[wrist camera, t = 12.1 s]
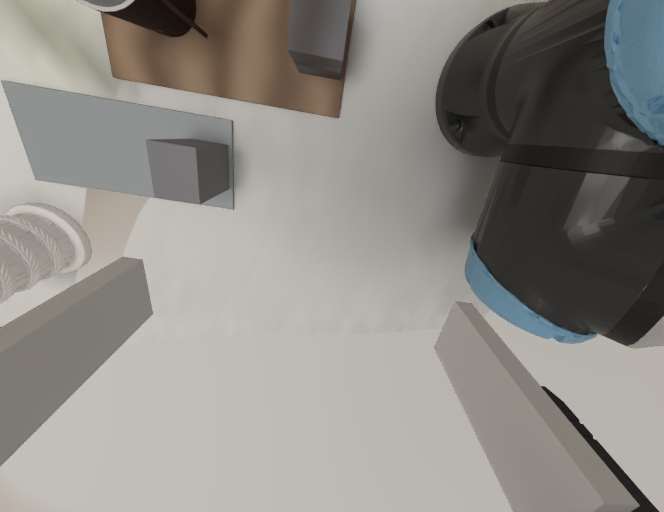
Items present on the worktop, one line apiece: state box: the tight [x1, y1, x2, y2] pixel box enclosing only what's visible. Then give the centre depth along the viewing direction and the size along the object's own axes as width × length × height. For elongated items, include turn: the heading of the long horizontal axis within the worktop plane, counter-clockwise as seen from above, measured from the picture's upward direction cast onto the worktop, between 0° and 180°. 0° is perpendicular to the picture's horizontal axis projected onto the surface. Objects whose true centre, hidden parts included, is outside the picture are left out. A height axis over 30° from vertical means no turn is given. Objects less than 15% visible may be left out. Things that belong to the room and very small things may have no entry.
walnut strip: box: [101, 0, 356, 118], centre depth 25 cm, size 28×14×9 cm, turn 81°
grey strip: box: [1, 81, 234, 209], centre depth 30 cm, size 28×12×9 cm, turn 81°
